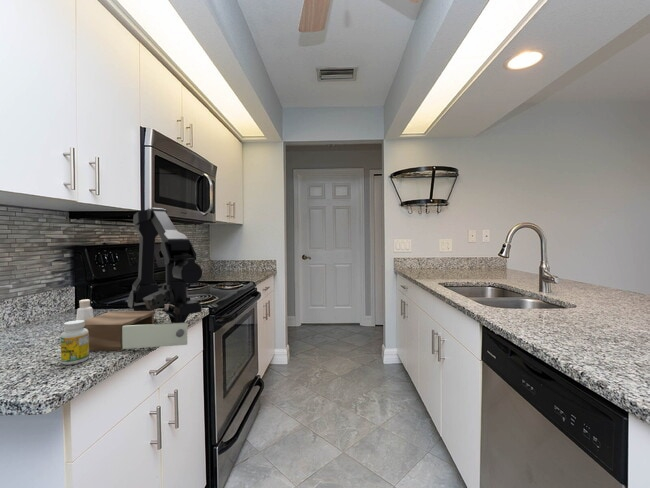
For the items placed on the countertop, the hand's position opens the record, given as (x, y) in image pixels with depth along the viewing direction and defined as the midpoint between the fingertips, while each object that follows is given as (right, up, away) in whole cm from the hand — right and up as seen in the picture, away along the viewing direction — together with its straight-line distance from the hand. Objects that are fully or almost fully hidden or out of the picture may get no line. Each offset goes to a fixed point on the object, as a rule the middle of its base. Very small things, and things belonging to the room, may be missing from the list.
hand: (177, 333), depth 91 cm
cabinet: (-18, -2, 0) cm, 18 cm away
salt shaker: (-32, -3, +6) cm, 33 cm away
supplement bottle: (-18, -3, -15) cm, 23 cm away
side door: (-2, -2, -7) cm, 8 cm away
